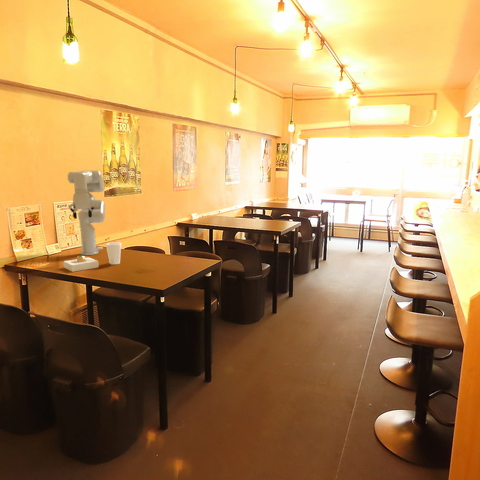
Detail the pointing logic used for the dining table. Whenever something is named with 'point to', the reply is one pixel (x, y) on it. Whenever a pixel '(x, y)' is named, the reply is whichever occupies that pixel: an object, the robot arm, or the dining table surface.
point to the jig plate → (81, 264)
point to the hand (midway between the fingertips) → (82, 217)
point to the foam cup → (114, 252)
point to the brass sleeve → (80, 258)
